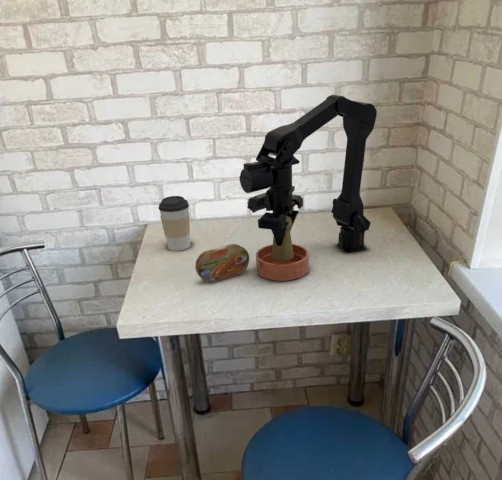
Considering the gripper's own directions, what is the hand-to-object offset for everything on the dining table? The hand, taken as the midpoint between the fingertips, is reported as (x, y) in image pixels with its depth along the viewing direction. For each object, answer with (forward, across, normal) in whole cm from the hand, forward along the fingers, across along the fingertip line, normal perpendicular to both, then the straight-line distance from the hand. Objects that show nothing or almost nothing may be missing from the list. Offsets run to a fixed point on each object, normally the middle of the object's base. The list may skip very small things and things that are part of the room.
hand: (282, 242), depth 141 cm
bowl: (+8, 0, 0) cm, 8 cm away
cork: (+4, 0, 0) cm, 4 cm away
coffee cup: (+8, -7, -36) cm, 38 cm away
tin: (+8, +8, -14) cm, 18 cm away
